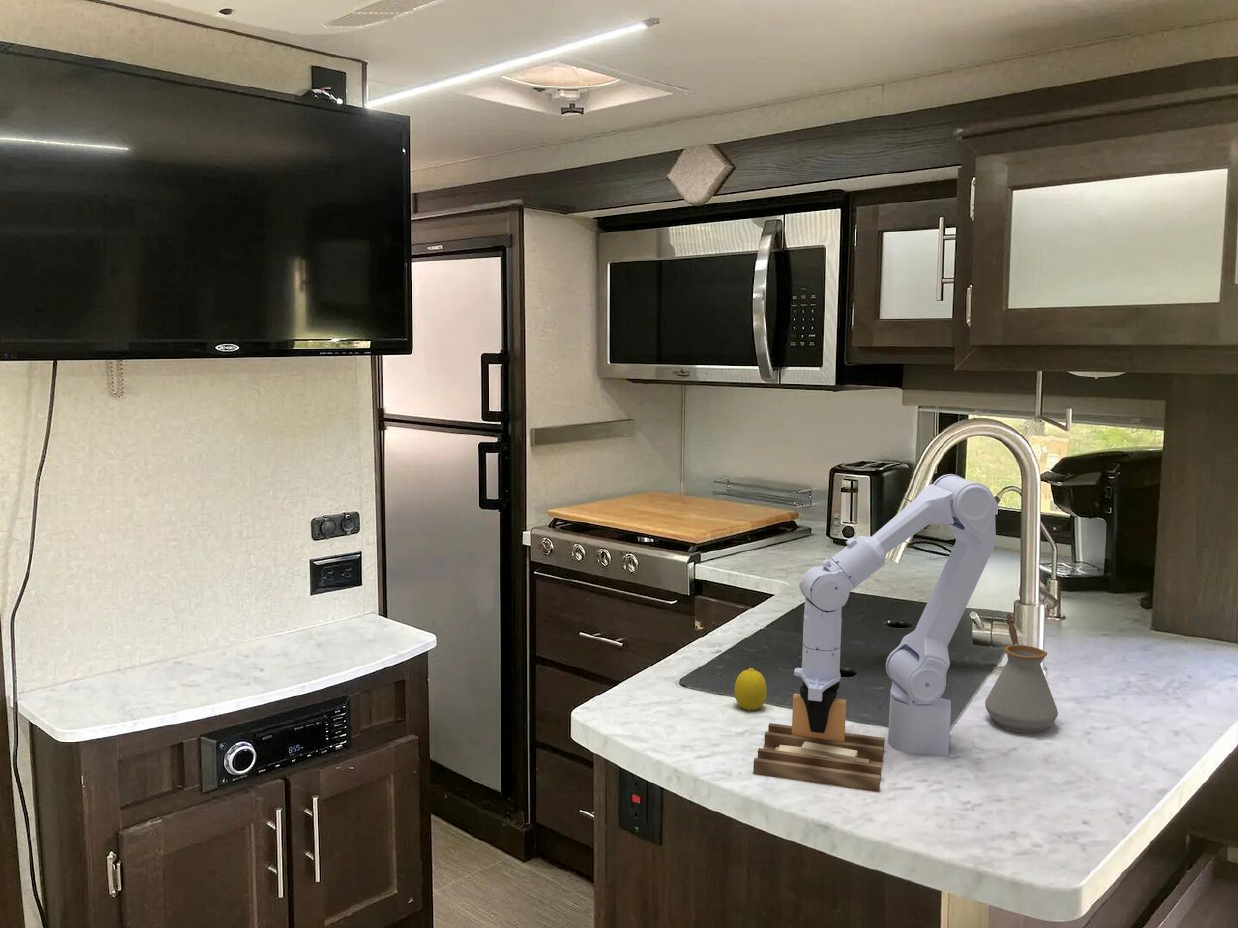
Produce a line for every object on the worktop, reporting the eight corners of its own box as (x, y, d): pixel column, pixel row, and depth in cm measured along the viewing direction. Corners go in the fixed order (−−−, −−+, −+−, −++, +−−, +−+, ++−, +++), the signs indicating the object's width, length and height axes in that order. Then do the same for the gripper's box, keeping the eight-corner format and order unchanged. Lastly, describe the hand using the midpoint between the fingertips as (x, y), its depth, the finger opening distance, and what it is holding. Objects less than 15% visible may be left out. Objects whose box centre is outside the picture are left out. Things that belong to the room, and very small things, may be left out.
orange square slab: (844, 748, 154) (846, 699, 153) (843, 752, 153) (845, 703, 152) (792, 741, 157) (794, 693, 155) (791, 745, 155) (793, 697, 154)
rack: (884, 752, 155) (885, 734, 155) (878, 798, 140) (879, 778, 140) (770, 737, 160) (770, 720, 160) (752, 780, 145) (753, 760, 145)
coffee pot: (1064, 740, 160) (1070, 651, 158) (989, 734, 163) (995, 646, 161) (1036, 693, 181) (1042, 614, 179) (970, 688, 183) (975, 610, 181)
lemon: (744, 703, 175) (746, 660, 174) (772, 711, 171) (773, 667, 170) (727, 713, 171) (728, 668, 169) (755, 721, 167) (756, 676, 166)
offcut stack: (868, 762, 149) (869, 749, 149) (867, 772, 146) (867, 759, 146) (776, 750, 153) (776, 737, 153) (772, 759, 150) (773, 746, 150)
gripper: (801, 628, 160) (798, 708, 162) (788, 656, 147) (786, 743, 149) (845, 633, 158) (842, 714, 160) (837, 662, 145) (833, 750, 146)
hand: (818, 728), depth 154 cm, fingers closed on orange square slab, 2 cm apart
